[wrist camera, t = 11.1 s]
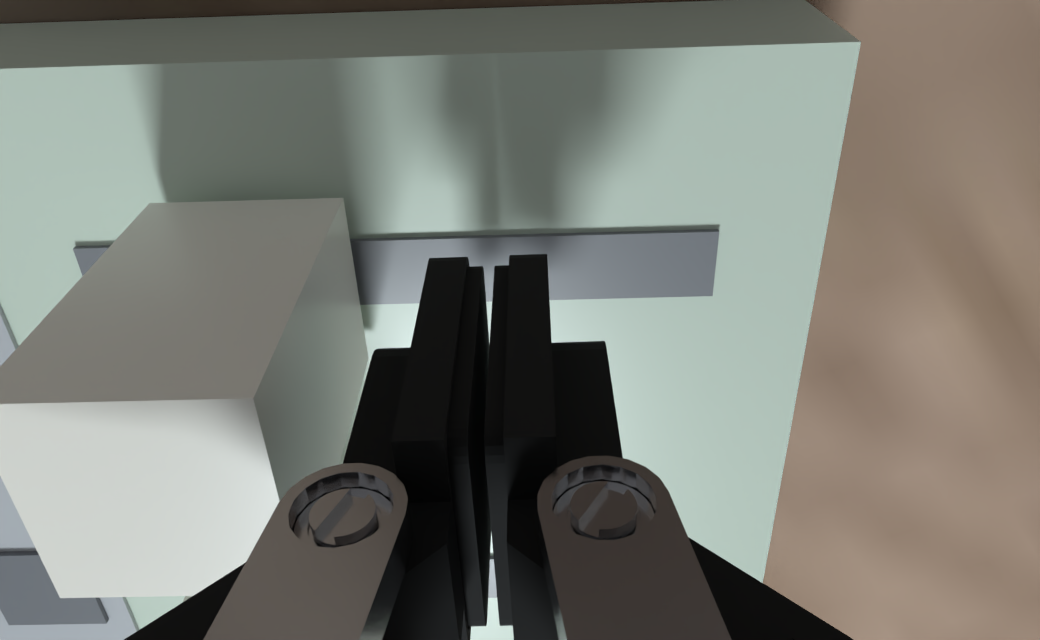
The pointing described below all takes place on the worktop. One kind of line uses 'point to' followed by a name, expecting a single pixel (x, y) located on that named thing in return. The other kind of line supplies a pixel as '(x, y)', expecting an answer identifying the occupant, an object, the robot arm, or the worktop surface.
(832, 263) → the worktop surface
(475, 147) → the switch box
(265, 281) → the switch
